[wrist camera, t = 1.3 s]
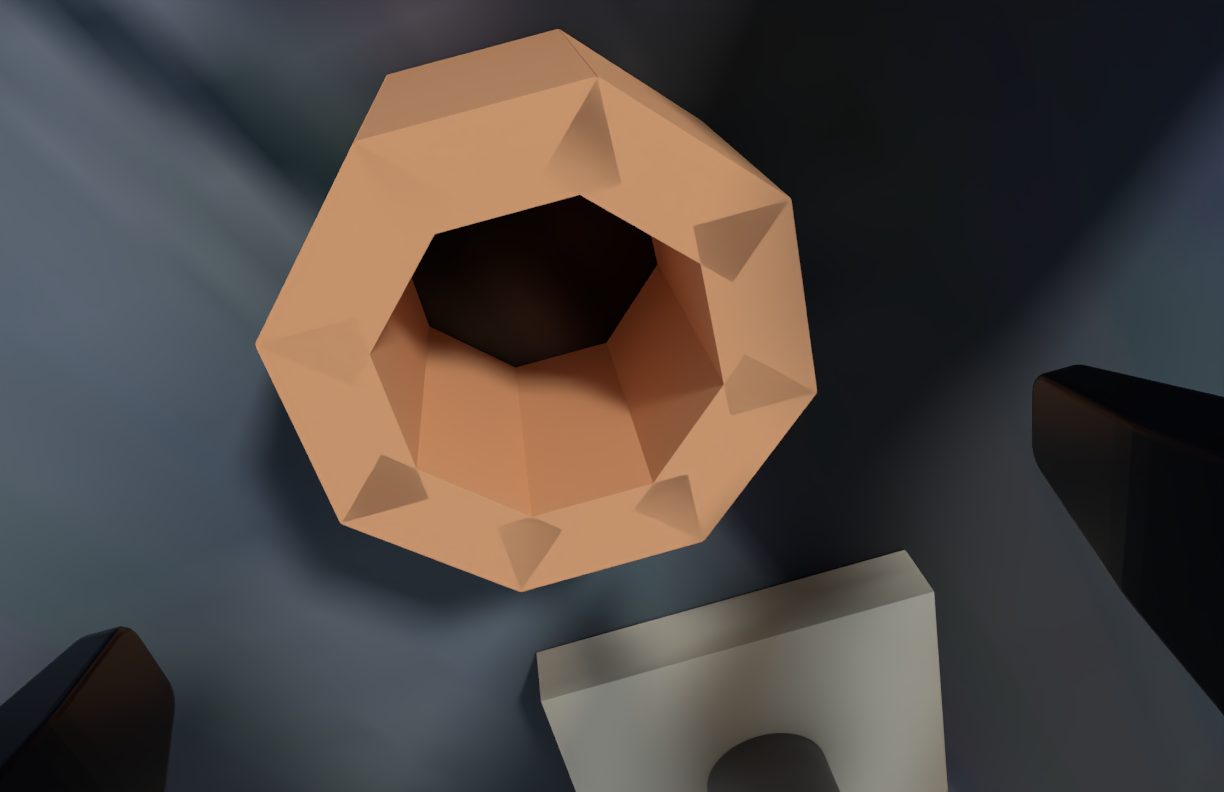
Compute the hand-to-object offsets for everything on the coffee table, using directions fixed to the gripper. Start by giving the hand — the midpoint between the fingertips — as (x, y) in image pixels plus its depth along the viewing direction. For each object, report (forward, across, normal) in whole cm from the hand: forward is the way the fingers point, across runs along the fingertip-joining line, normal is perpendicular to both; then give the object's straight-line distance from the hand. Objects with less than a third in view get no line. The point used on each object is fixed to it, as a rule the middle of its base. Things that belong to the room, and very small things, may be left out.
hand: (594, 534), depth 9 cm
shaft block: (+9, -2, +14) cm, 17 cm away
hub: (+9, 0, 0) cm, 9 cm away
